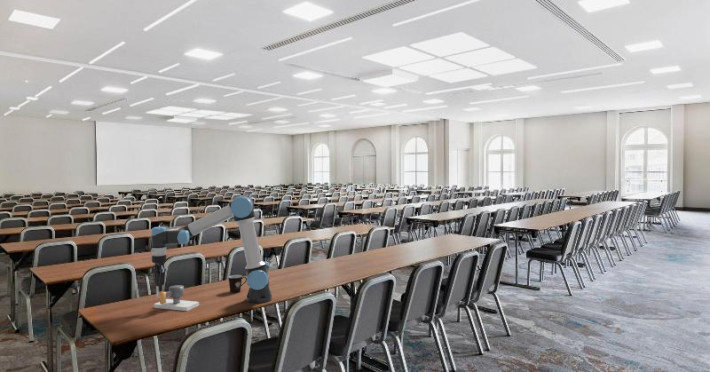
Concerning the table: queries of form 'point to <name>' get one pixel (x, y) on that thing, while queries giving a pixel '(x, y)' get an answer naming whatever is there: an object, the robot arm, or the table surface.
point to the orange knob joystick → (172, 293)
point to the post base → (177, 304)
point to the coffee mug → (235, 283)
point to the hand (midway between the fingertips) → (159, 296)
